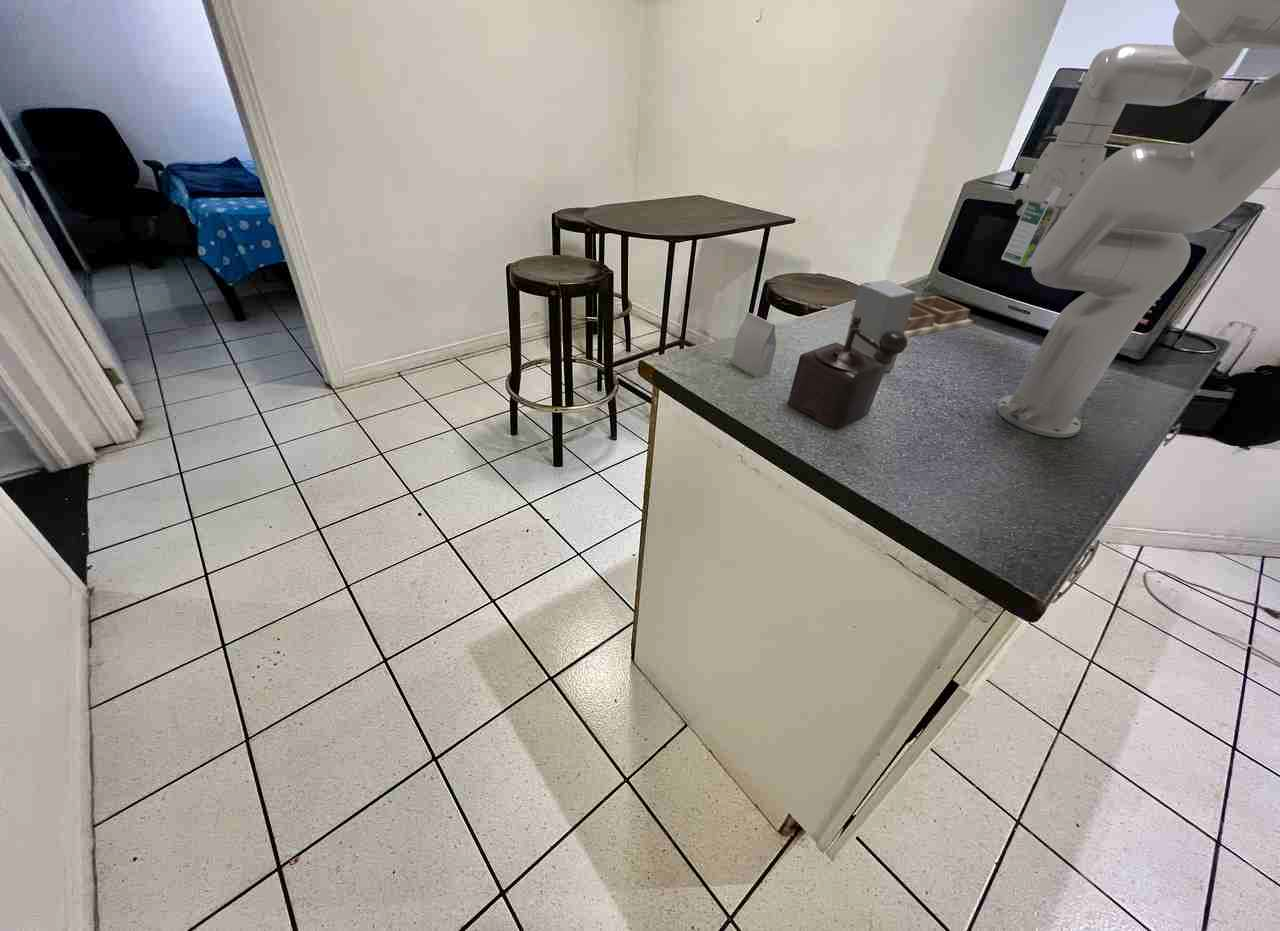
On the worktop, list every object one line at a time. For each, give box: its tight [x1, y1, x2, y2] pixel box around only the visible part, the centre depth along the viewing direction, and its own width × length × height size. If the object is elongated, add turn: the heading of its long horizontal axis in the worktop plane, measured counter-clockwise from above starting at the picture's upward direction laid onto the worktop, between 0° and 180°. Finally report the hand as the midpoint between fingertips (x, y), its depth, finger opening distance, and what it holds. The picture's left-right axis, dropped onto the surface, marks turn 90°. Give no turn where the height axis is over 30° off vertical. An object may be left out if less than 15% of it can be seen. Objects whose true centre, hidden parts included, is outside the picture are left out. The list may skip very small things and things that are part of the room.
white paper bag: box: [731, 311, 777, 378], centre depth 98 cm, size 4×7×10 cm, turn 35°
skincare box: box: [844, 279, 918, 373], centre depth 101 cm, size 8×7×16 cm
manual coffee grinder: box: [786, 316, 908, 430], centre depth 84 cm, size 16×11×18 cm
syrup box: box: [1001, 187, 1063, 268], centre depth 103 cm, size 6×6×14 cm
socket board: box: [850, 295, 974, 338], centre depth 127 cm, size 24×16×4 cm, turn 117°
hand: (1032, 240), depth 105 cm, fingers closed on syrup box, 6 cm apart
